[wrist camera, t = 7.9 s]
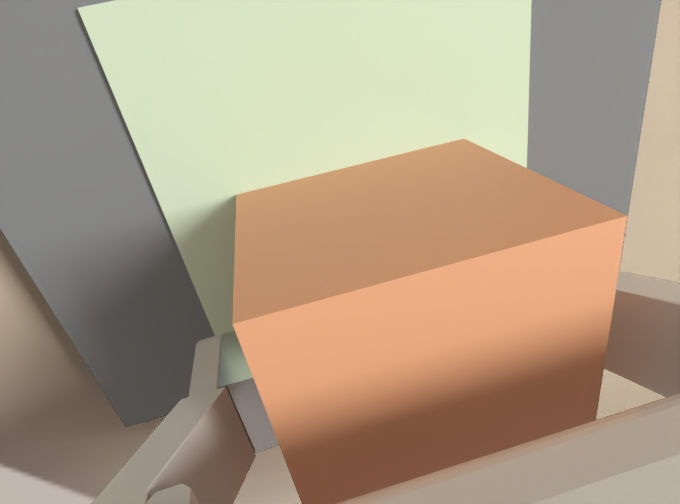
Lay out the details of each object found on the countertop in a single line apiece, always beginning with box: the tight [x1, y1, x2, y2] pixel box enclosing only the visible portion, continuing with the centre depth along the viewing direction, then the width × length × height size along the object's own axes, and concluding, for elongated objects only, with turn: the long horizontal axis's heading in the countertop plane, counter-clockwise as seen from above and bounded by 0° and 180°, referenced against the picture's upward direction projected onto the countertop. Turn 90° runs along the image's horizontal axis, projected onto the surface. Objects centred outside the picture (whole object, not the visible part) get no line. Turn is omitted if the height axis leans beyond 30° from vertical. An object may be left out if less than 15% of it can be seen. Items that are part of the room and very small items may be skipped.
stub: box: [232, 139, 627, 504], centre depth 9 cm, size 5×6×4 cm
